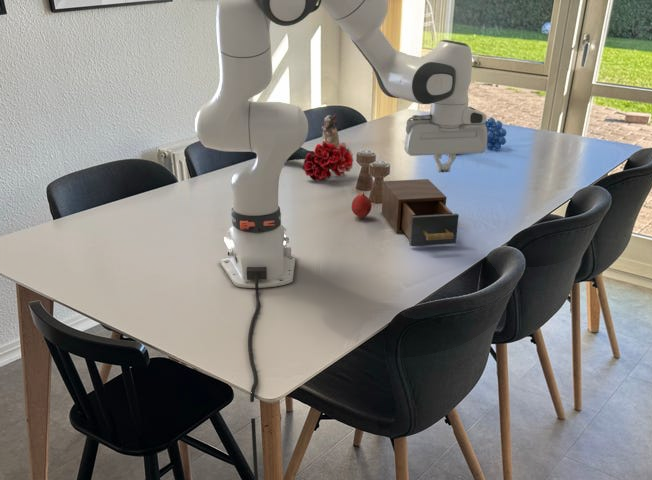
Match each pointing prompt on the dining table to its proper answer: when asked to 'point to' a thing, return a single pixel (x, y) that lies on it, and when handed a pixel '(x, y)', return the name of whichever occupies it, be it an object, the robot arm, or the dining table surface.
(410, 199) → the cabinet
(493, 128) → the grapes
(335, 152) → the carnation
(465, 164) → the dining table surface
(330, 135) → the figurine
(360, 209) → the onion
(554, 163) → the dining table surface
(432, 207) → the drawer
